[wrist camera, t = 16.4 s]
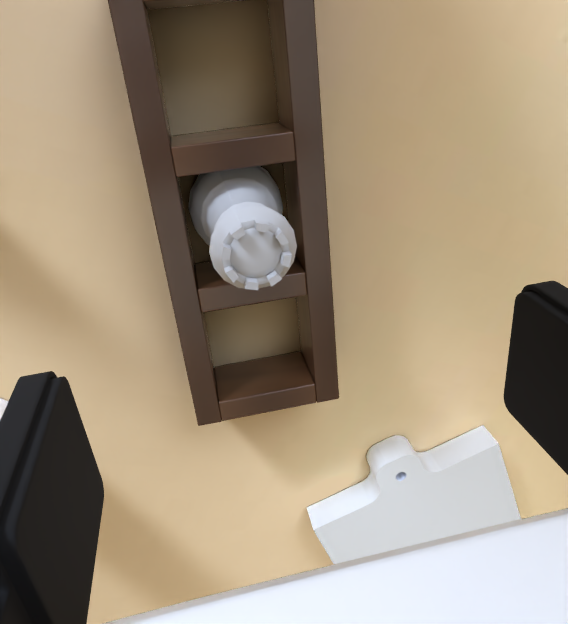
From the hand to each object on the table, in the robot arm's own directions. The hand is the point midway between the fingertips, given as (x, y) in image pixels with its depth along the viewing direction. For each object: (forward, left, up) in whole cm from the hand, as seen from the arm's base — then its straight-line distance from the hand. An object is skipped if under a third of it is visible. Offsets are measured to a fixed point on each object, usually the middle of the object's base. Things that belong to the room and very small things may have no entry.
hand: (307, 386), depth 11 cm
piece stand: (+1, 0, -17) cm, 17 cm away
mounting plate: (+26, +10, -17) cm, 32 cm away
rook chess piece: (0, 0, -17) cm, 17 cm away
